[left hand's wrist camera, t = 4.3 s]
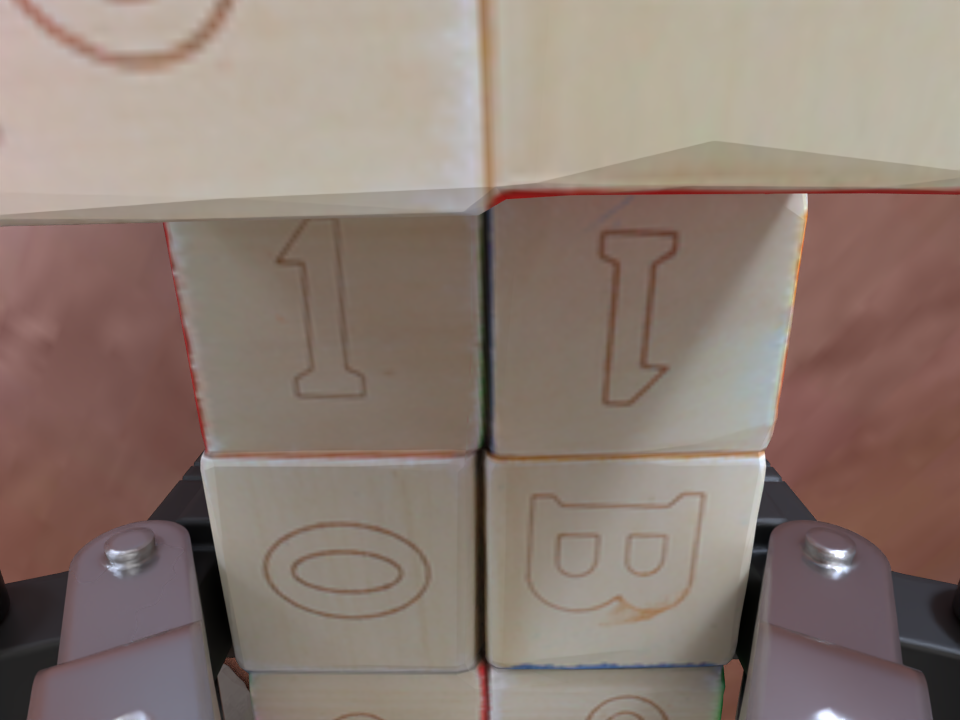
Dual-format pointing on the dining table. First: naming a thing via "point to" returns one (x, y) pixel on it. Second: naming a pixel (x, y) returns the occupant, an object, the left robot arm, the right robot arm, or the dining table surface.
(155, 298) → the dining table surface
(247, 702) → the mineral specimen
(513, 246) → the stack of blocks
